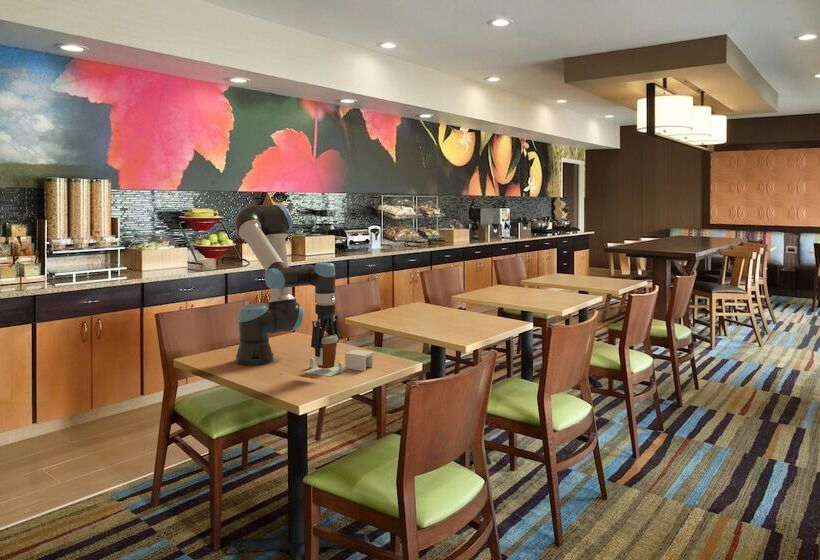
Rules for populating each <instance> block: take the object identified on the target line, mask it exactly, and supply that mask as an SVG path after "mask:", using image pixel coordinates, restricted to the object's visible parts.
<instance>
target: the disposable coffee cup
mask: <svg viewBox="0 0 820 560" xmlns="http://www.w3.org/2000/svg"><path fill="white" fill-rule="evenodd" d="M337 341H338V338H337V335H335V334H334V335H328V332H327V333H325V332H324V336H323V338H322V345H321V348H322V353H323V365H317V366H318V367H319V368H323V369H327V368H332V367H334V366H335V361H336V360H335V355H336V356H337V344H338V343H337ZM318 345H319V344H318Z"/></svg>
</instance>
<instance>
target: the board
mask: <svg viewBox="0 0 820 560" xmlns="http://www.w3.org/2000/svg"><path fill="white" fill-rule="evenodd" d="M314 360H315V359H314V357H309V360H308V361H309V369H308V370H305V371H304V373H305V374H313V375H319V376H325V377H333V376H334V375H336V374H343V373H344V371H345V370H349V369H348V368H345V367H344V363H343V362H338V366H335V365H334V367H332V368H327V369H323V368H319V367H318V365H317V366H314V362H315V361H314Z"/></svg>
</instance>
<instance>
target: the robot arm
mask: <svg viewBox="0 0 820 560" xmlns="http://www.w3.org/2000/svg"><path fill="white" fill-rule="evenodd" d="M292 219H293V218H292V215H291V213H290V211H289V209H288V208H287V207H286V206H284V205H283V204H282V205H281V204H280V205H279V204H250V205H247V206H245V207H243V208H242V209H240V210H239V212H238V214H237V215H236V217H235V221H234V224H235V227H234V228H235V230H236V232H237V233H238V236H239V238H241V239H243V240H244V241H246V244H247V245H248V246H249V248H250V249H251V251H252V253H253V254H254V255H255V257H256V259H257V260H258V261H259V263H260V265H261V266H262V268H263V269H264V271H265V272H264V282H265V285H266V286H267V288H268V289H270V299H269V300H268V301H267V302H268V303H266V302H258V303H251V304H247V305H244V306H242V307H241V308H240V310H239V311H238V312H239V313H238V328H239V345H238V349H237V353H236V355H235V363H236V364H238V365H241V366H261V365H267V364H270V363H273V361H274V360H275V359H274V356H275V355H274V352H273V350H272V347H271V344H270V335H272V334H280V333H287V332H288V333H289V332H293V331H297V330H298V329H300V327H301V326H302V324H303V320H304V308H303V307H302V304H301V303H299V302H297V298H296V297H295V296H294V295H293V293H292V292H293V291H292V288H293V287H294V288H295V287H306V286H313V287H314V303H315V304H314V306H315V307H314V308H315V309H314V310H315V314H316V316H317V318H316V319H317V320H313V321H312V323H311V324H312V333H311V343H310V347H311V348H313V349H314V357H315V359H314V360H315V365H317V366H318V365H323V353H322V348H321V345H322V338H323V336H324V333H325V332H327V333H328V335H334V334H335V335H337V338H338V341H337V344H338V343H339V341H340V331H339V329H340V328H339V322H338V321H339V316H338V315H335V314H336V269H335V268H336V267H335V264H334V263H332V262H327V261H326V262H316V263H314V265H312V264H304V265H301V266H290V267H289V261H288V254H287V245H286V239H287V237H288V236H289V234H288V233H289V232H290V231H291V229H292V227H293V226H292V225H293V220H292ZM318 344H319V345H318ZM336 360H337V354H336V355H335V361H336Z"/></svg>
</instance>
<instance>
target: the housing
mask: <svg viewBox="0 0 820 560" xmlns="http://www.w3.org/2000/svg"><path fill="white" fill-rule="evenodd" d="M344 355H345V356H344V365H345V366H344V368H348V369H347V370H349V369H350V370H356V371H362V372H366V371H367V368H374V352H373V351H369V350H361V349H352V350H349V351H347V352H345V354H344Z"/></svg>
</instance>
